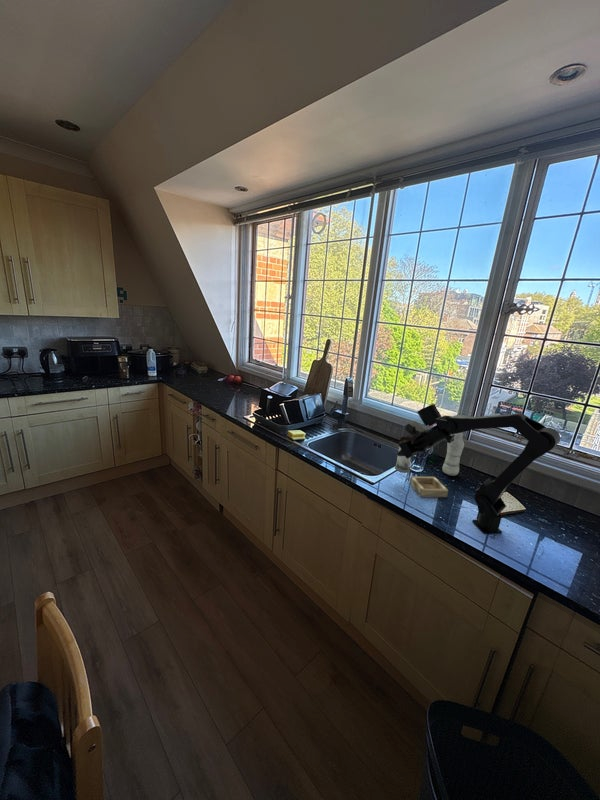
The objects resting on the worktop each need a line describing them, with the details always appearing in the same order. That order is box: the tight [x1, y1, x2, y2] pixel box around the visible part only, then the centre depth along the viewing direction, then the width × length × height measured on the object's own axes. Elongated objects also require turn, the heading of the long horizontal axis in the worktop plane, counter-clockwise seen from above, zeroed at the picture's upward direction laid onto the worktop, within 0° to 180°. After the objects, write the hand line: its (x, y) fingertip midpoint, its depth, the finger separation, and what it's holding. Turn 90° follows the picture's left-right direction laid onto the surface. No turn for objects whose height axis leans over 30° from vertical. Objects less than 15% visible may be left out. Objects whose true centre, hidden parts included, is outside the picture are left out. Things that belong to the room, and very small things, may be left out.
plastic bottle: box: [442, 432, 465, 477], centre depth 140 cm, size 6×7×20 cm
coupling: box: [394, 445, 412, 474], centre depth 127 cm, size 7×6×11 cm
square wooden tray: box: [409, 476, 449, 498], centre depth 128 cm, size 10×10×3 cm
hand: (401, 453), depth 128 cm, fingers closed on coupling, 5 cm apart
